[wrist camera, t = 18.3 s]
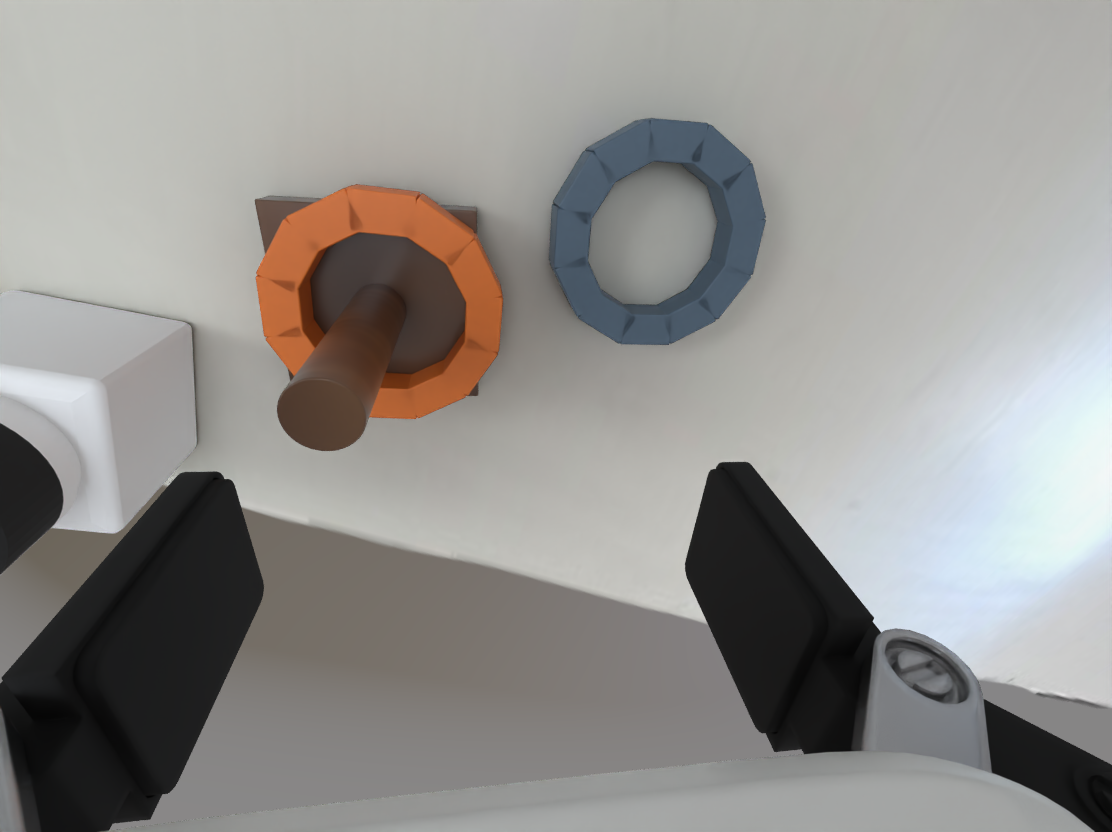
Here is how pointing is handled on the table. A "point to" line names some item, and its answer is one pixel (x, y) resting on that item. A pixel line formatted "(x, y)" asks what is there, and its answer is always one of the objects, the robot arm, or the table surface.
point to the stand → (365, 325)
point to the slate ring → (732, 242)
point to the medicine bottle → (87, 415)
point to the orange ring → (392, 215)
